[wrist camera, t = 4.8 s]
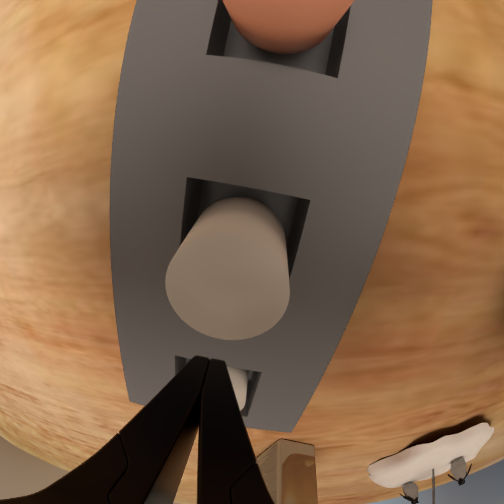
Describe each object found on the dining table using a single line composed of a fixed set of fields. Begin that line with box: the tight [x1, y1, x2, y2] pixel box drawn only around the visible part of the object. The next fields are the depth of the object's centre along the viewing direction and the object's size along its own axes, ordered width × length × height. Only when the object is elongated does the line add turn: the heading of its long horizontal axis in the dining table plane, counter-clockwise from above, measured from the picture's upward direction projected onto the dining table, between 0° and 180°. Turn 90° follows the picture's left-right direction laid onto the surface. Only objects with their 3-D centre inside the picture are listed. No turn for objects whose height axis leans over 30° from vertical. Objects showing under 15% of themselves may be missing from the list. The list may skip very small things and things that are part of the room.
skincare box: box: [256, 439, 318, 504], centre depth 22 cm, size 6×4×12 cm
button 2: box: [189, 359, 249, 411], centre depth 18 cm, size 4×4×4 cm
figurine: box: [367, 423, 494, 504], centre depth 23 cm, size 20×18×16 cm
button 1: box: [165, 197, 290, 340], centre depth 11 cm, size 4×4×4 cm
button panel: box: [110, 0, 432, 432], centre depth 15 cm, size 28×12×4 cm, turn 170°
